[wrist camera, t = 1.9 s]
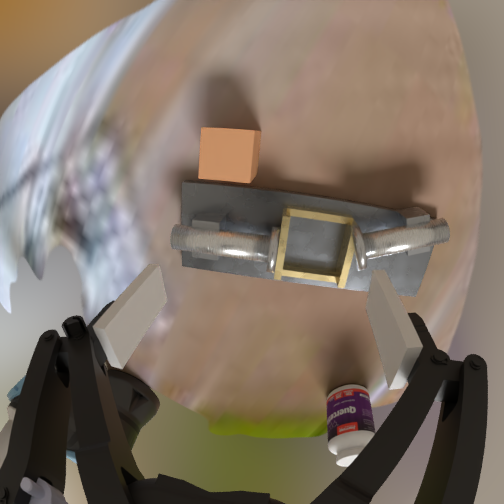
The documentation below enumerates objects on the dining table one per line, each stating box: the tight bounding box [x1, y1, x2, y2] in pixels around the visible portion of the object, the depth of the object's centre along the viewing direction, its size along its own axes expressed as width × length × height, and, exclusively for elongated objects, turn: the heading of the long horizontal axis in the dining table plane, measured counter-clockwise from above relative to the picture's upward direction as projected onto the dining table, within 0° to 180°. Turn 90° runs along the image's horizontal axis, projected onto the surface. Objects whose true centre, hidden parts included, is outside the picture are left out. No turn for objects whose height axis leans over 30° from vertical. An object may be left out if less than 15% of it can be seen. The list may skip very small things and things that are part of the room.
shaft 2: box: [350, 206, 450, 271], centre depth 27 cm, size 11×5×6 cm, turn 105°
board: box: [182, 181, 436, 297], centre depth 31 cm, size 32×11×4 cm, turn 85°
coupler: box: [198, 127, 261, 183], centre depth 27 cm, size 5×5×6 cm
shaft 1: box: [170, 211, 280, 273], centre depth 30 cm, size 11×5×6 cm, turn 85°
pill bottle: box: [326, 384, 375, 466], centre depth 38 cm, size 8×8×14 cm
